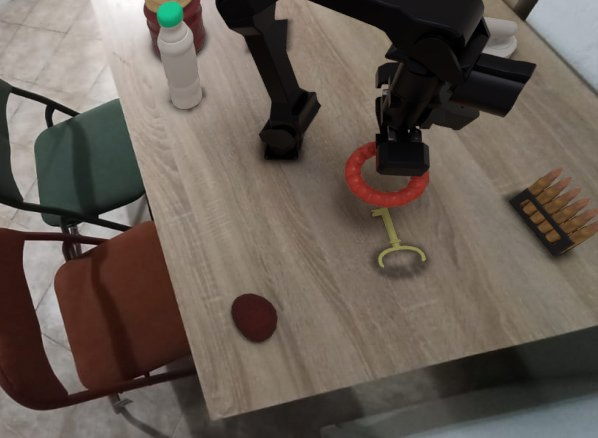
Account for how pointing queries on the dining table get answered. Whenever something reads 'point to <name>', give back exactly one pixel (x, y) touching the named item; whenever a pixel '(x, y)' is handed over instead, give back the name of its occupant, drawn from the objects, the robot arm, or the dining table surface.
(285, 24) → the black angled piece
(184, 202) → the dining table surface
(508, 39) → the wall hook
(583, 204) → the ammunition clip
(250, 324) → the potato
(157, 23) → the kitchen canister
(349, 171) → the red ring
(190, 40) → the water bottle
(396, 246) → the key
